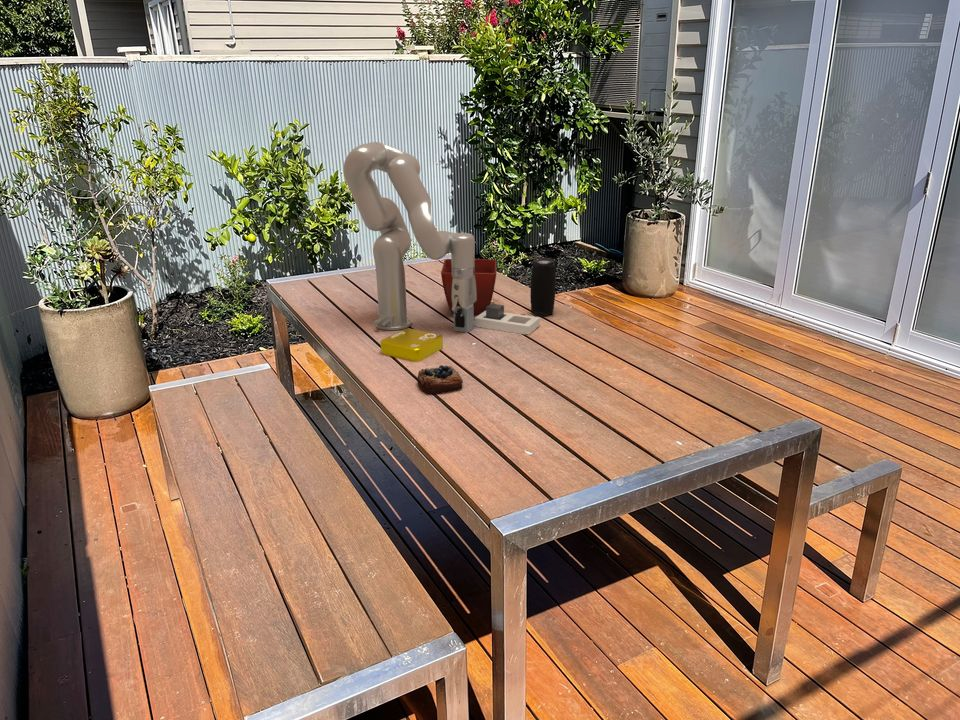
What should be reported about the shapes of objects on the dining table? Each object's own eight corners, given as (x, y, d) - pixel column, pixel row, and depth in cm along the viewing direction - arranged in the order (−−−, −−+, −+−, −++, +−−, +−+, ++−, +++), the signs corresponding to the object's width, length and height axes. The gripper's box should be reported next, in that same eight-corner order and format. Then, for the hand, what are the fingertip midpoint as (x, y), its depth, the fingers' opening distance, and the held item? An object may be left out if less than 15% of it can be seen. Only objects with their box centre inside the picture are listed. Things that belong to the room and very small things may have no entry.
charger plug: (467, 332, 234) (466, 306, 231) (453, 330, 236) (453, 304, 232) (473, 328, 238) (473, 302, 235) (460, 326, 240) (460, 300, 237)
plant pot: (496, 319, 247) (496, 272, 240) (441, 319, 247) (440, 272, 241) (496, 303, 264) (496, 259, 258) (445, 302, 265) (444, 258, 258)
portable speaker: (528, 316, 249) (529, 262, 242) (532, 308, 257) (533, 256, 250) (552, 318, 247) (554, 264, 240) (555, 310, 256) (557, 257, 249)
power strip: (528, 335, 232) (529, 316, 229) (474, 326, 240) (474, 308, 237) (547, 319, 247) (548, 301, 244) (495, 311, 254) (495, 294, 252)
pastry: (413, 381, 197) (412, 362, 195) (454, 375, 201) (453, 356, 199) (424, 397, 188) (424, 377, 185) (467, 390, 192) (466, 370, 189)
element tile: (407, 339, 229) (406, 325, 227) (445, 348, 222) (445, 334, 220) (378, 354, 217) (377, 339, 215) (418, 363, 210) (417, 348, 208)
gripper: (461, 279, 221) (462, 333, 228) (484, 266, 235) (484, 318, 242) (440, 276, 224) (441, 330, 231) (464, 264, 238) (465, 315, 245)
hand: (463, 323), depth 236 cm, fingers closed on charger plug, 5 cm apart
